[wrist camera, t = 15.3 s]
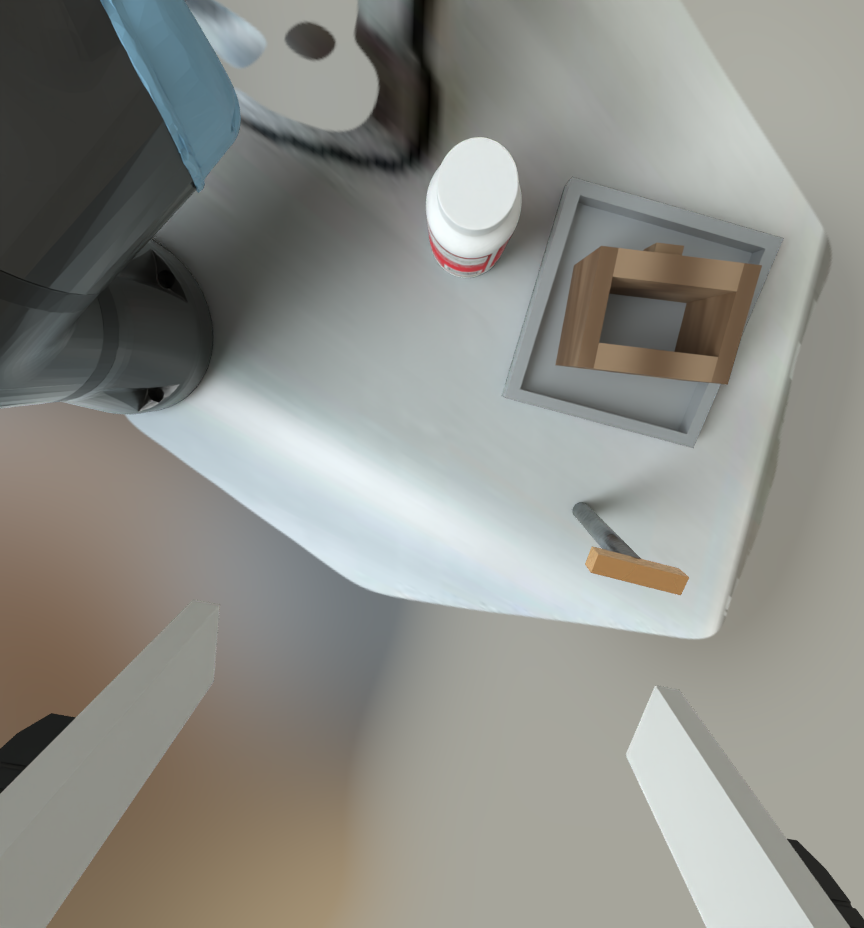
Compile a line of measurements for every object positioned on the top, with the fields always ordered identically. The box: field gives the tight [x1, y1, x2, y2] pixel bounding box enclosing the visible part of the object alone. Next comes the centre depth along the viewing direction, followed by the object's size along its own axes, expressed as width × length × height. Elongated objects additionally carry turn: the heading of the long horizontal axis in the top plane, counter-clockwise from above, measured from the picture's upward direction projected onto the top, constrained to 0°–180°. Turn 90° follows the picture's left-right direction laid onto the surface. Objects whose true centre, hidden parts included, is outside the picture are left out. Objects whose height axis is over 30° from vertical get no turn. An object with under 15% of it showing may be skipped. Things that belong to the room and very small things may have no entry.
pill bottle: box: [426, 137, 522, 278], centre depth 29 cm, size 6×6×11 cm
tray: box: [502, 177, 784, 448], centre depth 34 cm, size 17×17×2 cm
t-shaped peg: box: [573, 503, 689, 595], centre depth 34 cm, size 6×2×12 cm, turn 75°
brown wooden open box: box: [555, 243, 762, 384], centre depth 32 cm, size 11×9×6 cm
